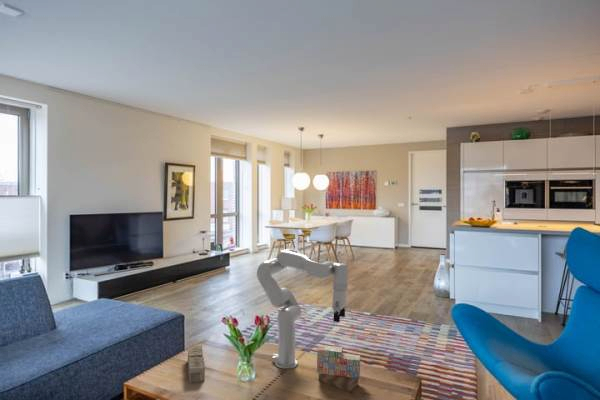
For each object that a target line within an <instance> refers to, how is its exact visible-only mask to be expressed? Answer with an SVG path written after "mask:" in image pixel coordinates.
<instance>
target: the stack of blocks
mask: <svg viewBox="0 0 600 400" xmlns="http://www.w3.org/2000/svg"><path fill="white" fill-rule="evenodd" d="M343 349H344V348H343V347H342V346H334V345H333V346H332V345H324V344H319V345H318V348H317V350H316V353H317V355H316V362H317V363H316V364H317V365H316V368H317V369H316V373H317V374H319V373H321V374H327V375H335V376H343V377H350V378H357V379H358V380H359V379H360V376H361V354H360V355H359V354H351V353H343V351H344V350H343Z"/></svg>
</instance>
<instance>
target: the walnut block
mask: <svg viewBox="0 0 600 400" xmlns="http://www.w3.org/2000/svg"><path fill="white" fill-rule="evenodd" d="M318 381H320V382H322V383H325V384H328V385H330V386H333V387H336V388H339V389H341V390H345V391H348V392H351V391H352V390H353V389H355V387H357V386H358V385H359V379H357V378H350V377H343V376H335V375H327V374H321V373H318Z"/></svg>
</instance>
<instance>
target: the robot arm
mask: <svg viewBox="0 0 600 400" xmlns="http://www.w3.org/2000/svg"><path fill="white" fill-rule="evenodd" d="M287 267H289V268H293V269H296V270H300V271H301V272H303V273H306V274H308V275H310V276H312V277H317V278H321V279H325V278H326V279H327V278H328V277H330V276H333V278H332V279H333V282H332V283H333V284H332V290H333V293H332V306H331V307H332V310H333V322H334V323H340V321H341V318H344V317H345V318H346V304H347V291H348V281H349V280H348V278H349V276H348V275H349V265H348V264H347V263H342V262H334V261H332V260H331V261H330V260H327V261H325V262H321V263H320V262H316V261H313V260H312V259H311V260H310V259H309V258H308V256H307V255H305V254H302V253H298V252H297V251H295V250H294V249H293V248H287V249H282V250H280V251H279V252H278V253H277V255H276V256H275V257H274V258H271V259H267V260H264V261H262V262H261V263H260V264H259V265H258V268H257V269H256V270H257V271H256V278H257V280H258V282H259V284H260V286H261V287H262V288H263V291H264V292H265V294H266V296H267V298H268V300H269V301H270V303H271V305H272V306H273V308H275V309H276V308H281V307H282V309H280V311H279V312H278V314H277V316H276V317H277V325H278V327H277V328H278V330H277V331H278V342H277V343H278V346H277V347H278V349H277V350H278V351H277V353H272V354H271V359H273V360H275V363H274V364H275V366H276V367H278V368H280V369H285V370H288V369H289V370H290V369H293V368H296V367H297V366H298V362H299V361H298V360H297V359H296V327H295V323H296V321H297V320H299V319H300V318H301V317H302V309H301V306H300V304H299V303H298V301H297V299H296V297H295V296H294V294H293V292H292V291H291V290H290V289H289V288H288V287H281V286H280V285H279V284H278V281H277V280H276V279H275V278H274V277H273V275H274V274H276V273H279V272H281V271H282V270H284V269H286V268H287Z"/></svg>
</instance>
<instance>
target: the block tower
mask: <svg viewBox="0 0 600 400" xmlns="http://www.w3.org/2000/svg"><path fill="white" fill-rule="evenodd" d="M203 355H204V352H203V346H202V345H194V346H192V347H188V348H187V370H188V371H187V373H188V374H187V375H188V382H189V384H192V383H199V382H205V379H206V378H205V377H206V376H205V375H206V365H205V360H204V359H205V357H204V356H203Z"/></svg>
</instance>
